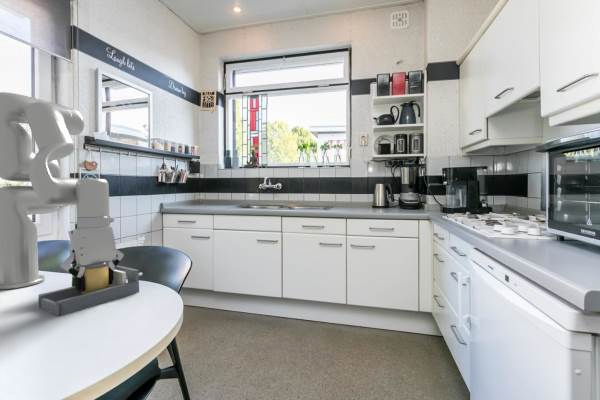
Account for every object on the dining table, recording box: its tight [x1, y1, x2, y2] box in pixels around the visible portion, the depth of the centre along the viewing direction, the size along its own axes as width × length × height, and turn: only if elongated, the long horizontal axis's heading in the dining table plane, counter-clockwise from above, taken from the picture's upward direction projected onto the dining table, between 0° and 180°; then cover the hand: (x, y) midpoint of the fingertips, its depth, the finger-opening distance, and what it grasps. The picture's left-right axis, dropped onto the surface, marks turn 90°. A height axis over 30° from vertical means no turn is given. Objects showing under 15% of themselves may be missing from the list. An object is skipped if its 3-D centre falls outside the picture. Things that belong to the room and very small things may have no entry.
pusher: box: [109, 270, 143, 287], centre depth 93 cm, size 8×8×6 cm
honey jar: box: [81, 262, 109, 295], centre depth 85 cm, size 7×7×8 cm
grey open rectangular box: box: [38, 264, 140, 317], centre depth 85 cm, size 11×20×6 cm, turn 149°
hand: (95, 286), depth 85 cm, fingers closed on honey jar, 6 cm apart
